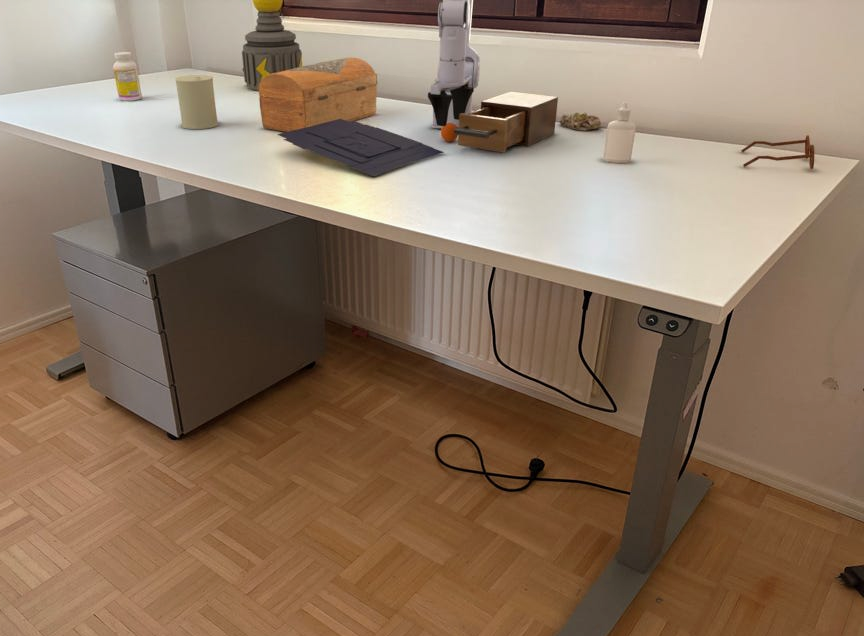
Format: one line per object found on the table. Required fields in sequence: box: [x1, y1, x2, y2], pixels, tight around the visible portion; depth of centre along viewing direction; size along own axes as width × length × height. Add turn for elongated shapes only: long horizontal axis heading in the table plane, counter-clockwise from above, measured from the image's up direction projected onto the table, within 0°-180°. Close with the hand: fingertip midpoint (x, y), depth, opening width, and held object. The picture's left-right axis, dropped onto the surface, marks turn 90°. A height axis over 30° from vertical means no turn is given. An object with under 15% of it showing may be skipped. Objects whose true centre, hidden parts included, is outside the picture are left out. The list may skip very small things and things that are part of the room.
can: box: [174, 74, 219, 130], centre depth 187 cm, size 9×9×12 cm
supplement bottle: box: [112, 51, 143, 102], centre depth 218 cm, size 7×7×13 cm
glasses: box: [740, 135, 815, 170], centre depth 155 cm, size 13×13×5 cm
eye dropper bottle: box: [602, 101, 637, 164], centre depth 155 cm, size 4×6×12 cm
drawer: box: [454, 106, 528, 153], centre depth 165 cm, size 18×11×7 cm, turn 145°
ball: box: [440, 123, 458, 143], centre depth 173 cm, size 4×4×4 cm
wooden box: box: [258, 57, 378, 133], centre depth 190 cm, size 30×16×14 cm, turn 144°
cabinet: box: [480, 91, 559, 147], centre depth 175 cm, size 15×13×9 cm
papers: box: [276, 119, 445, 177], centre depth 163 cm, size 24×30×4 cm
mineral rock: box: [559, 112, 602, 132], centre depth 185 cm, size 11×4×8 cm
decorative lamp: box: [241, 0, 303, 92], centre depth 230 cm, size 19×19×30 cm
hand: (450, 122), depth 172 cm, fingers open, 7 cm apart
